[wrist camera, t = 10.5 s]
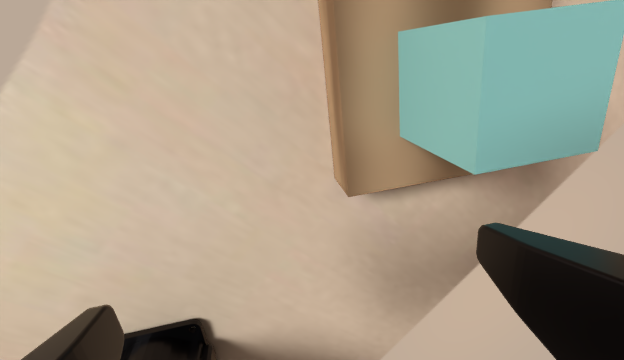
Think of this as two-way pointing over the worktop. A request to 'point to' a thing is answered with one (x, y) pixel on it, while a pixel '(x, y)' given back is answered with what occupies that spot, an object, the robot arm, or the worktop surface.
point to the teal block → (510, 85)
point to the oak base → (383, 87)
